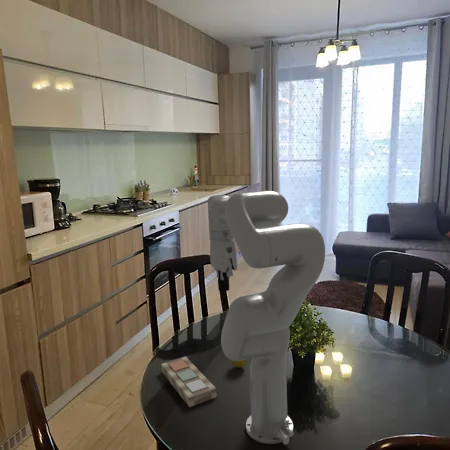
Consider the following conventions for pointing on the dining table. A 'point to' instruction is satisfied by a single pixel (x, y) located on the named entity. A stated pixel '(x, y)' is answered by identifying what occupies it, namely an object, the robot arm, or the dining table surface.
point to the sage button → (186, 375)
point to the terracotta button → (178, 366)
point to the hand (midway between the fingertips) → (223, 290)
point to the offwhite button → (196, 386)
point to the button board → (181, 386)
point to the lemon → (239, 363)
